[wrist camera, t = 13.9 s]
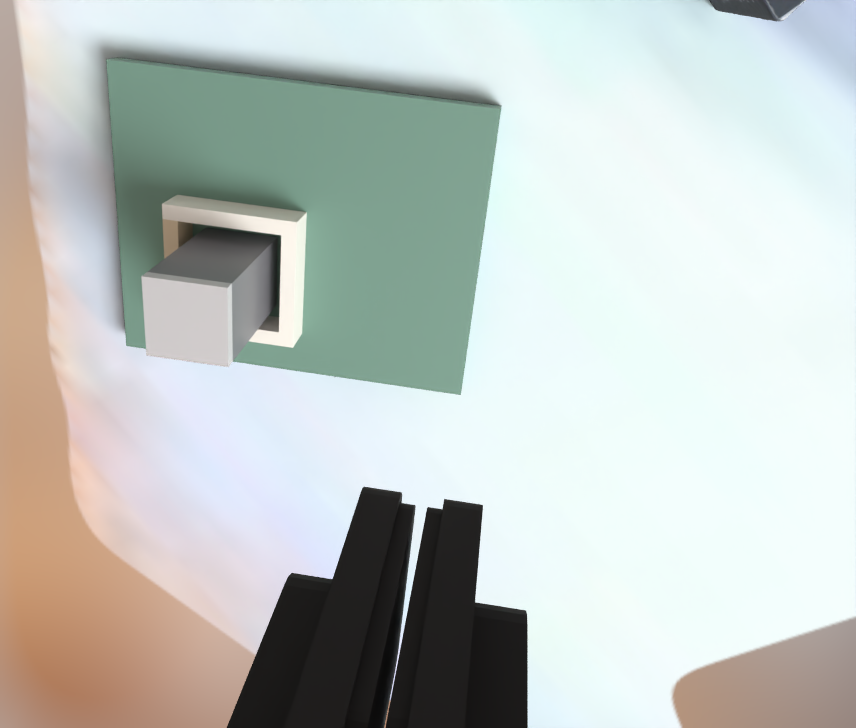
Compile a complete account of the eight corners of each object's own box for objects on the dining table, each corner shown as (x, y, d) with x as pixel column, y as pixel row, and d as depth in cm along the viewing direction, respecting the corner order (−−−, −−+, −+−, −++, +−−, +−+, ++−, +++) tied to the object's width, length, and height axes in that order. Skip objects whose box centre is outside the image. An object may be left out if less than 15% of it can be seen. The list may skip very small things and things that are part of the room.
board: (117, 57, 41) (86, 62, 38) (501, 106, 40) (499, 115, 37) (135, 337, 48) (110, 360, 45) (462, 385, 47) (457, 411, 44)
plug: (205, 227, 43) (141, 276, 36) (277, 236, 43) (227, 287, 36) (207, 295, 45) (146, 355, 38) (276, 305, 45) (228, 366, 37)
